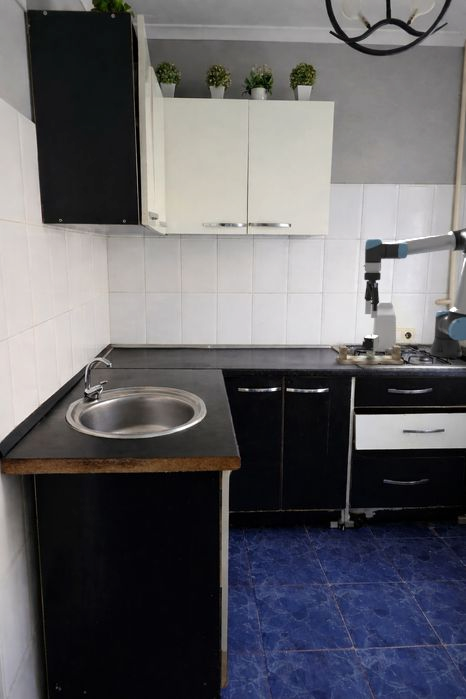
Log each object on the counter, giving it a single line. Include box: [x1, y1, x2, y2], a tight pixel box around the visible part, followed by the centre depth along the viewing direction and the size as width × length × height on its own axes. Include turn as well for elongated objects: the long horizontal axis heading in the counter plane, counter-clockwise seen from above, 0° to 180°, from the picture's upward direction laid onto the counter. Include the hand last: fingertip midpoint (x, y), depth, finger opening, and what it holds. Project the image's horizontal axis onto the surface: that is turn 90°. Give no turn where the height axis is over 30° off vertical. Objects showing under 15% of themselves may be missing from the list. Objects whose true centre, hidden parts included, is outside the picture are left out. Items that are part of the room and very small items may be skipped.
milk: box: [372, 301, 397, 353], centre depth 278 cm, size 12×12×26 cm
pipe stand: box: [336, 344, 404, 365], centre depth 253 cm, size 30×12×8 cm, turn 87°
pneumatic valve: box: [361, 333, 379, 359], centre depth 252 cm, size 6×12×12 cm, turn 149°
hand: (371, 315), depth 249 cm, fingers open, 13 cm apart
